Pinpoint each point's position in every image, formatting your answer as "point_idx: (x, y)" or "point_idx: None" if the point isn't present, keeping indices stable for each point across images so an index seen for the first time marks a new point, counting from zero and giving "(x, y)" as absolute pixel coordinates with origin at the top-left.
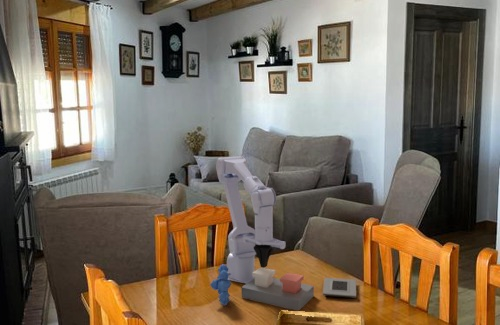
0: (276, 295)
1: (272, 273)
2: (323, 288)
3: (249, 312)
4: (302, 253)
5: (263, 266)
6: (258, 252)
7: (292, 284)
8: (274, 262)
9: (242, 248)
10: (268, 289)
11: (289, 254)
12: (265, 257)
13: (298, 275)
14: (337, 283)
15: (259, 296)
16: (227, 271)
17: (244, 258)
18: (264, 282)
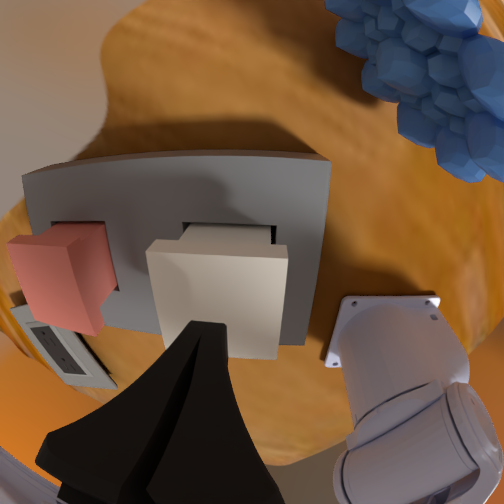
0: (98, 162)
1: (160, 312)
2: (69, 330)
3: (201, 32)
4: (265, 463)
5: (191, 325)
6: (197, 446)
7: (29, 236)
8: (312, 432)
9: (427, 438)
10: (164, 205)
11: (291, 457)
12: (127, 388)
13: (45, 317)
14: (68, 361)
15: (204, 152)
16: (469, 146)
17: (399, 392)
18: (195, 238)
